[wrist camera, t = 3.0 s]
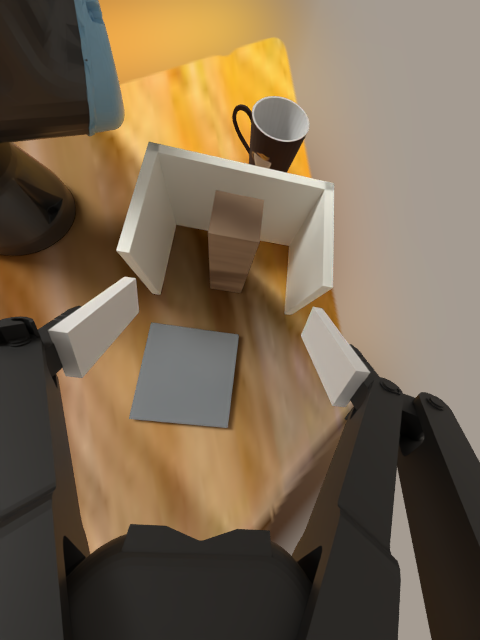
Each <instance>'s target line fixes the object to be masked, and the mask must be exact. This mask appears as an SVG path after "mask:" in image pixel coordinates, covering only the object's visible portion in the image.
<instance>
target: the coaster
mask: <svg viewBox="0 0 480 640" xmlns="http://www.w3.org/2000/svg"><path fill="white" fill-rule="evenodd" d="M238 338H239V335H237V334H230V333H223V332H216V331H209V330H202V329H194V328H187V327H180V326H173V325H166V324H159V323H151V326H150V330H149V334H148V339H147V343H146V347H145V352H144V356H143V360H142V365H141V369H140V373H139V378H138V382H137V386H136V391H135V395H134V399H133V404H132V408H131V412H130V417H129V419H137V420H148V421H159V422H170V423H180V424H191V425H202V426H213V427H223V428H228V421H229V412H230V404H231V396H232V388H233V380H234V371H235V363H236V355H237V347H238Z"/></svg>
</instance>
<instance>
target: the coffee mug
mask: <svg viewBox="0 0 480 640" xmlns="http://www.w3.org/2000/svg"><path fill="white" fill-rule="evenodd" d="M239 110H242V111H244V112H246V113H247V115H248V116H249V118H250V120H251V138H250V148H249V146H248V144H247V143H246V141H245V139H244V138H243V136H242V134H241V132H240V130H239V127H238V125H237V121H236V114H237V112H238V111H239ZM232 118H233V124H234V127H235V130H236V132H237V134H238V136H239V138H240V140H241V142H242V143H243V145H244V147H245V148H246V150H247V152H248V153H249V164H250V165H254V166H259V167H263V168H268V169H272V170H277V171H281V172H285V173H287V171H288V169H289V167H290V165H291V163H292V161H293V159H294V158H295V156H296V154H297V152H298V150H299V148H300V146H301V144H302V142H303V140H304V138H305V136H306V134H307V132H308V130H309V119H308V116H307V115H306V113H305V111H304V110H303V109H302V108H301V107H300V106H299V105H297V104H296V103H295V102H293V101H291V100H289V99H286V98H283V97H277V96H270V97H265V98H262V99H260V100H259V101H258V102H256V104H255V105H254V107H253V109H252V112H251V111H250V109H249V108H248V107H247V106H245V105H238V106H236V107H235V109H234V111H233V116H232Z"/></svg>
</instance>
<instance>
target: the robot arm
mask: <svg viewBox="0 0 480 640" xmlns="http://www.w3.org/2000/svg"><path fill="white" fill-rule="evenodd" d="M123 121H124V105H123V100H122V95H121V90H120V85H119V81H118V76H117V72H116V68H115V64H114V59H113V55H112V51H111V47H110V43H109V39H108V35H107V31H106V27H105V24H104V22H103V19H102V12H101V8H100V4H99V1H98V0H0V254H2V255H26V254H31V253H34V252H38V251H40V250H43V249H45V248H47V247H49V246H51V245H53V244H54V243H56V242H57V241H58V240H60V239H61V238H62V237H63V236H64V235H65V234H66V232H67V231H68V230H69V228H70V227H71V225H72V223H73V220H74V217H75V202H74V198H73V196H72V194H71V192H70V191H69V190H68V188H67V187H66V186H65V185H64V184H63V182H62V181H61V180H60V179H59V178H58V177H57V176H56V175H55V174H54V173H53V172H52V171H51V170H50V169H48V168H47V167H45V166H44V165H43V164H41V163H40V162H39V161H37V160H36V159H34V158H33V157H32V156H30V155H29V154H28V153H26V152H25V151H23V150H22V149H21V148H19V147H18V146H16V145H15V144H14V143H12V142H17V141H26V140H36V139H46V138H56V137H66V136H75V135H85V134H87V135H88V136H92V135H94V134H95V133H97V132H103V131H109V130H115V129H117V128H119V127H120V126H121V124H122V123H123ZM138 313H139V305H138V295H137V285H136V278H130V277H123V278H122V279H120V280H119V281H118V282H116V283H115V284H113V285H112V286H110V287H109V288H108V289H106V290H105V291H103V292H102V293H100V294H99V295H98V296H96V297H95V298H93V299H92V300H90V301H89V302H88V303H86V304H85V305H83V306H77V307H74V308H71V309H68V310H67V311H65V312H64V313H62V314H61V316H58V317H56V318H55V320H52V321H50V322H49V323H47V324H46V325H44V326H43V327H41V328H40V329H38V330H37V327H36V325H35V323H34V321H33V319H31V318H28V317H11V318H6V319H2V320H0V640H398V622H399V602H400V582H401V579H400V568H399V565H398V561H397V560H396V559H395V558H394V557H393V556H392V555H391V552H390V537H391V526H392V515H393V503H394V492H395V481H396V470H397V468H398V473H399V478H400V482H401V488H402V493H403V498H404V503H405V508H406V513H407V518H408V523H409V528H410V533H411V538H412V543H413V548H414V553H415V558H416V563H417V568H418V573H419V578H420V583H421V588H422V593H423V598H424V603H425V608H426V613H427V618H428V624H429V628H430V633H431V638H432V640H480V462H479V460H478V459H477V457H476V455H475V453H474V451H473V449H472V448H471V446H470V444H469V442H468V440H467V438H466V437H465V435H464V433H463V431H462V429H461V427H460V425H459V424H458V422H457V420H456V418H455V416H454V414H453V412H452V411H451V409H450V408H449V407H448V406H447V405H446V404H445V403H444V402H443V401H442V400H441V399H439V398H438V397H436V396H433V395H431V394H428V393H425V392H421V393H420V394H419V395H418V396H417V397H416V398H414V397H411V396H408V395H405V394H403V393H402V391H401V389H399V387H398V386H397V385H396V384H394V383H393V382H391V381H389V380H387V379H385V378H381V377H379V376H378V374H377V373H376V372H375V371H374V369H373V368H372V367H371V366H370V364H369V363H368V362H367V360H366V359H365V358H364V357H363V355H362V354H361V353H360V351H359V350H358V349H357V348H355V347H354V346H353V345H351V344H349V343H348V342H347V341H346V339H345V338H344V337H343V335H342V334H341V333H340V331H339V330H338V329H337V327H336V326H335V325H334V323H333V322H332V321H331V319H330V318H329V317H328V315H327V314H326V313H325V311H324V310H323V309H322V308H317V307H313V308H312V310H311V312H310V315H309V317H308V320H307V322H306V324H305V327H304V329H303V332H302V334H301V337H302V339H303V341H304V344H305V346H306V348H307V350H308V352H309V355H310V357H311V359H312V361H313V364H314V366H315V368H316V370H317V373H318V375H319V377H320V379H321V381H322V384H323V386H324V388H325V390H326V393H327V395H328V397H329V399H330V401H331V404H332V406H339V407H346V406H347V404H348V403H349V401H350V400H351V402H352V404H353V405H354V407H353V408H352V409H351V411H350V412H349V413H348V415H347V416H346V417H345V419H346V420H347V422H346V424H345V427H344V430H343V432H342V435H341V437H340V440H339V443H338V446H337V448H336V451H335V454H334V456H333V458H332V461H331V464H330V466H329V469H328V472H327V474H326V477H325V480H324V482H323V485H322V487H321V490H320V493H319V496H318V498H317V501H316V503H315V506H314V508H313V511H312V514H311V516H310V519H309V522H308V524H307V527H306V529H305V532H304V534H303V536H302V537H301V539H300V541H299V542H298V544H297V546H296V548H295V550H294V552H293V554H292V556H291V555H290V554H289V553H288V552H287V551H285V550H284V549H283V548H282V547H281V546H279V545H277V544H276V543H274V542H272V541H270V531H267V530H245V529H236V530H233V531H230V532H227V533H224V534H221V535H218V536H215V537H212V538H209V539H206V540H203V541H199V540H196V539H194V538H192V537H190V536H187V535H185V534H183V533H181V532H179V531H176V530H174V529H172V528H170V527H167V526H157V525H136V524H130V526H129V529H128V532H127V534H126V535H123V536H120V537H118V538H115V539H113V540H111V541H109V542H108V543H106V544H104V545H103V546H101V547H100V548H98V549H97V550H96V551H94V552H93V553H92V554H90V551H89V546H88V542H87V538H86V534H85V531H84V528H83V525H82V521H81V516H80V510H79V504H78V497H77V491H76V485H75V479H74V473H73V467H72V461H71V454H70V448H69V442H68V436H67V430H66V424H65V418H64V412H63V405H62V399H61V393H60V387H59V381H58V377H57V375H56V373H57V372H58V371H59V370H60V369H61V368H63V370H64V373H65V375H66V376H69V377H78V378H83V377H84V375H85V374H86V373H87V372H88V371H89V370H90V369H91V367H92V366H93V365H94V364H95V363H96V362H97V360H98V359H99V358H100V357H101V356H102V355H103V353H104V352H105V351H106V350H107V349H108V348H109V346H110V345H111V344H112V343H113V342H114V341H115V339H116V338H117V337H118V336H119V335H120V334H121V333H122V331H123V330H124V329H125V328H126V327H127V326H128V324H129V323H130V322H131V321H132V320H133V319H134V317H135V316H136V315H137V314H138Z"/></svg>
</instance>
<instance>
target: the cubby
mask: <svg viewBox="0 0 480 640" xmlns="http://www.w3.org/2000/svg"><path fill="white" fill-rule="evenodd" d="M216 190H218V191H223V192H228V193H233V194H238V195H242V196H247V197H252V198H257V199H261V200H264V207H263V216H262V225H261V234H260V241H265V242H271V243H276V244H281V245H287V246H289V254H288V268H287V283H286V298H285V312H284V314H288V315H292V314H294V313H295V312H297V311H298V310H300V309H301V308H303V307H304V306H306V305H307V304H309V303H310V302H312V301H313V300H315V299H317V298H318V297H320V296H321V295H323V294H324V293H326V292H327V291H329V290H330V289H332V288H333V249H334V247H333V245H334V184H333V183H330V182H325V181H321V180H316V179H312V178H308V177H303V176H299V175H294V174H290V173H285V172H281V171H277V170H272V169H268V168H263V167H259V166H254V165H250V164H245V163H241V162H237V161H232V160H228V159H223V158H219V157H214V156H210V155H205V154H201V153H197V152H192V151H188V150H183V149H179V148H174V147H170V146H165V145H161V144H157V143H152V142H149V143H148V146H147V150H146V153H145V156H144V160H143V163H142V166H141V170H140V173H139V176H138V180H137V183H136V186H135V190H134V193H133V196H132V200H131V203H130V206H129V210H128V213H127V216H126V220H125V223H124V226H123V230H122V233H121V236H120V240H119V243H118V246H117V250H116V251H117V252H118V253H119V254H120V256H121V257H122V258H123V259H124V260H125V262H126V263H127V264H128V265H129V266H130V268H131V269H132V270H133V271H134V272H135V273H136V275H137V276H138V277H139V278H140V279H141V281H142V282H143V283H144V284H145V285H146V287H147V288H148V289H149V290H150V291H151V293H152V294H158V295H161V290H162V286H163V281H164V277H165V273H166V268H167V264H168V259H169V255H170V251H171V246H172V242H173V237H174V233H175V229H176V225H180V226H186V227H191V228H196V229H202V230H207V231H208V230H209V225H210V219H211V214H212V208H213V203H214V197H215V191H216Z"/></svg>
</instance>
